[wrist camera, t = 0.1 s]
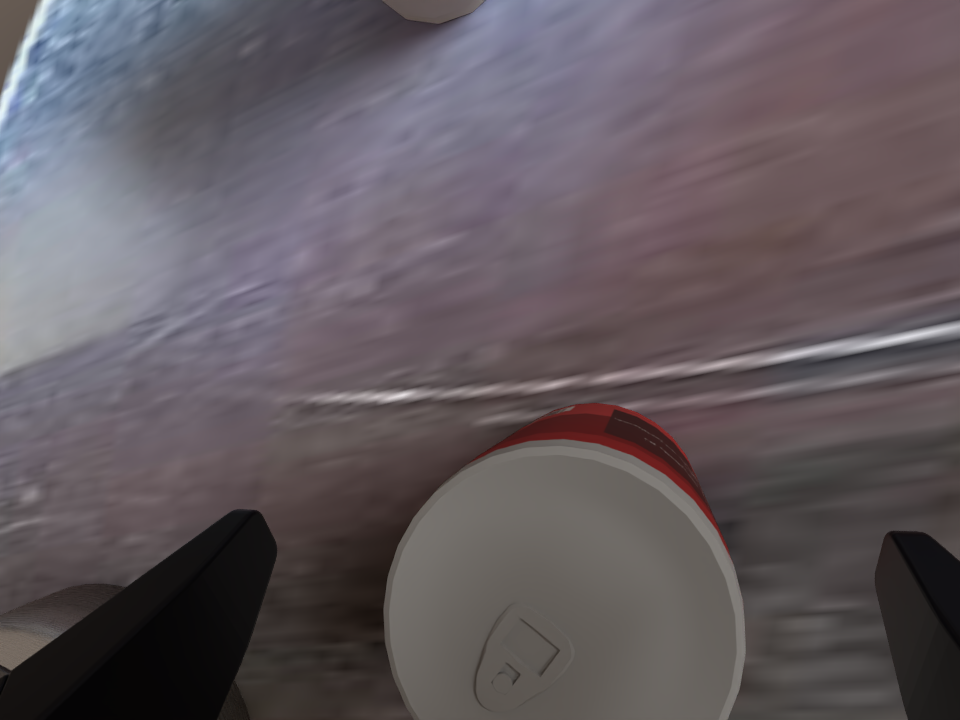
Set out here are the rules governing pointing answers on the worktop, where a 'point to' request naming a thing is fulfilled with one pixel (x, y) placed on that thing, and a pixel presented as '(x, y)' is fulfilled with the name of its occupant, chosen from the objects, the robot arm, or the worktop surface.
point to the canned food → (567, 582)
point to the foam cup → (433, 9)
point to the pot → (45, 619)
